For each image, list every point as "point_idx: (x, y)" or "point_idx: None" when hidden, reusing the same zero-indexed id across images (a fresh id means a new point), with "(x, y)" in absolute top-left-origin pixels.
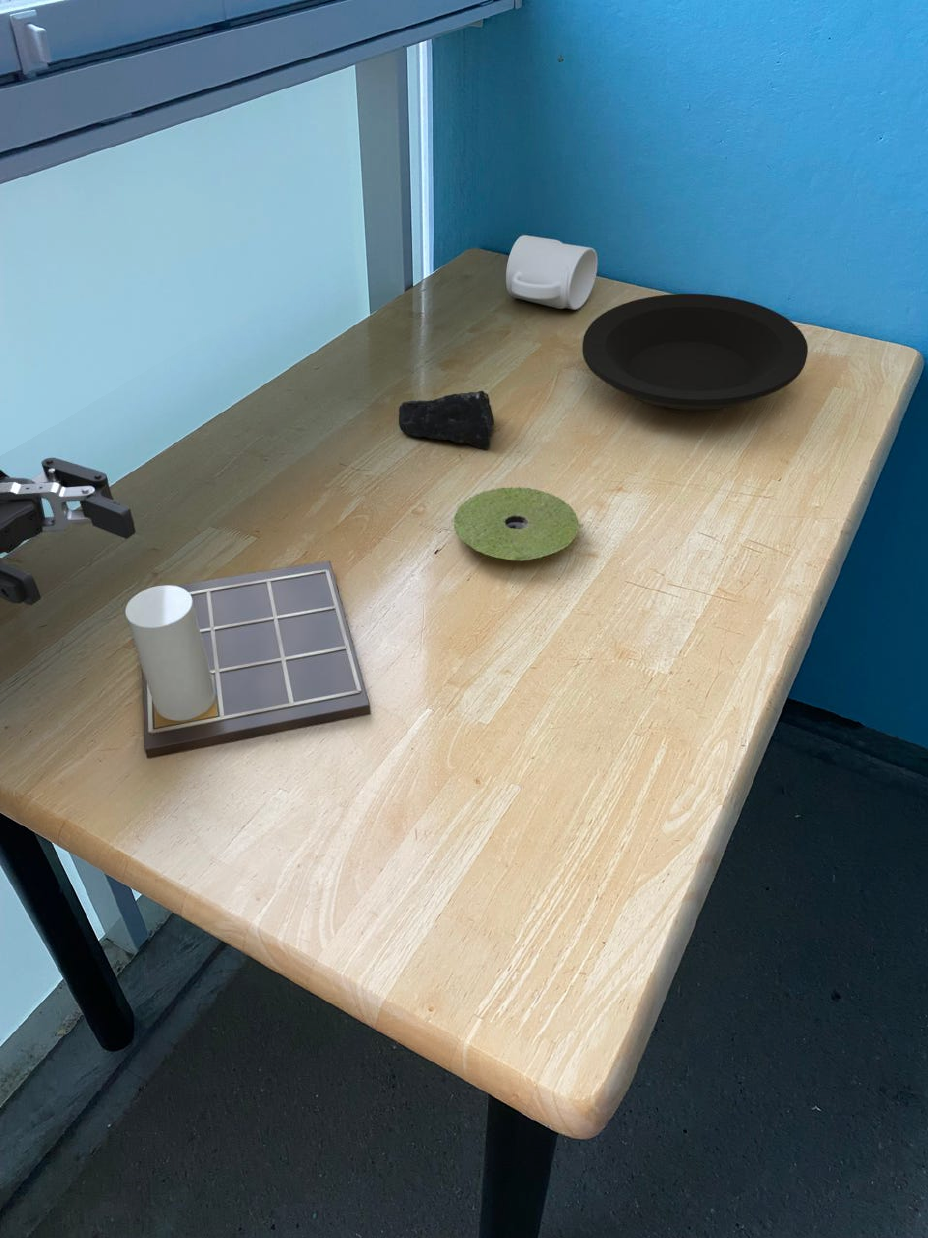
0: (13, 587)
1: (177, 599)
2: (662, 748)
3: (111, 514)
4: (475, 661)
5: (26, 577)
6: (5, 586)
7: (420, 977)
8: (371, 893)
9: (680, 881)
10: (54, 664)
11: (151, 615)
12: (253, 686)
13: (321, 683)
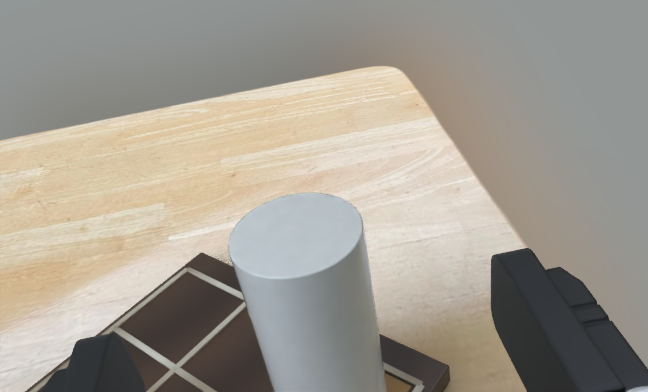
0: (559, 270)
1: (260, 226)
2: (133, 137)
3: (108, 383)
4: (76, 252)
5: (510, 253)
6: (581, 281)
7: (406, 115)
8: (381, 156)
9: (241, 94)
10: None
11: (324, 218)
12: (249, 356)
13: (195, 304)
